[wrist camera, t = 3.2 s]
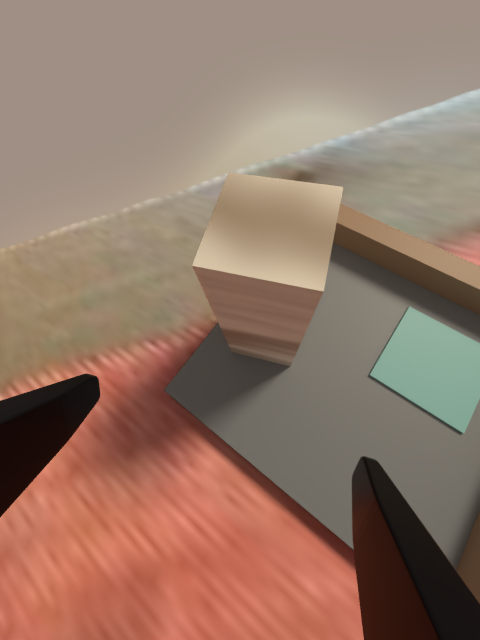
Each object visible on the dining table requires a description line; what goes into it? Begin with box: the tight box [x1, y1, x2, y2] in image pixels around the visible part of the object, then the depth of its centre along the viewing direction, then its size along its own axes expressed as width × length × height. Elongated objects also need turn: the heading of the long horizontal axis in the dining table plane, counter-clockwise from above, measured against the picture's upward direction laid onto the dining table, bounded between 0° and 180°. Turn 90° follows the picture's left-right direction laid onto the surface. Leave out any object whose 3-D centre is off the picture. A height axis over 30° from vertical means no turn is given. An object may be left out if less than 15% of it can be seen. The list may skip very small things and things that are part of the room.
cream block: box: [192, 173, 343, 366], centre depth 17 cm, size 5×5×13 cm
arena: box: [164, 204, 480, 603], centre depth 20 cm, size 22×24×4 cm
